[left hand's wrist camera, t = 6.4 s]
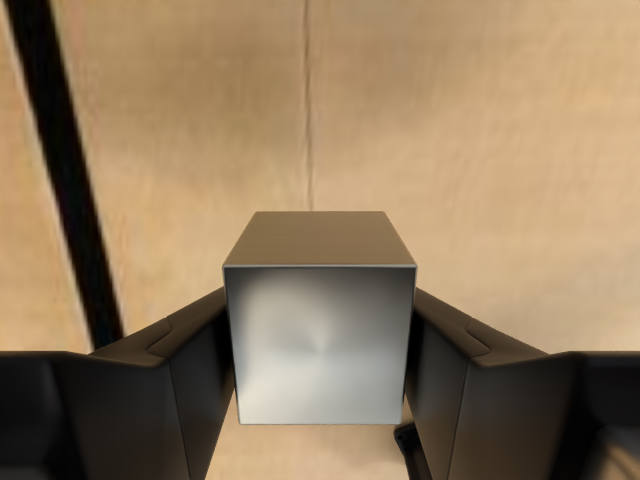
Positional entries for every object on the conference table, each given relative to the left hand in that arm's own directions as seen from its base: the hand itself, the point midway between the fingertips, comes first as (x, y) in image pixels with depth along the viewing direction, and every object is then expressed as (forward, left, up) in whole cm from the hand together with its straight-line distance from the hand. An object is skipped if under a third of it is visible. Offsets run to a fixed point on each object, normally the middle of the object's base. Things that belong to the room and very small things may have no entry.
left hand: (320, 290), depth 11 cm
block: (0, 0, -1) cm, 1 cm away
